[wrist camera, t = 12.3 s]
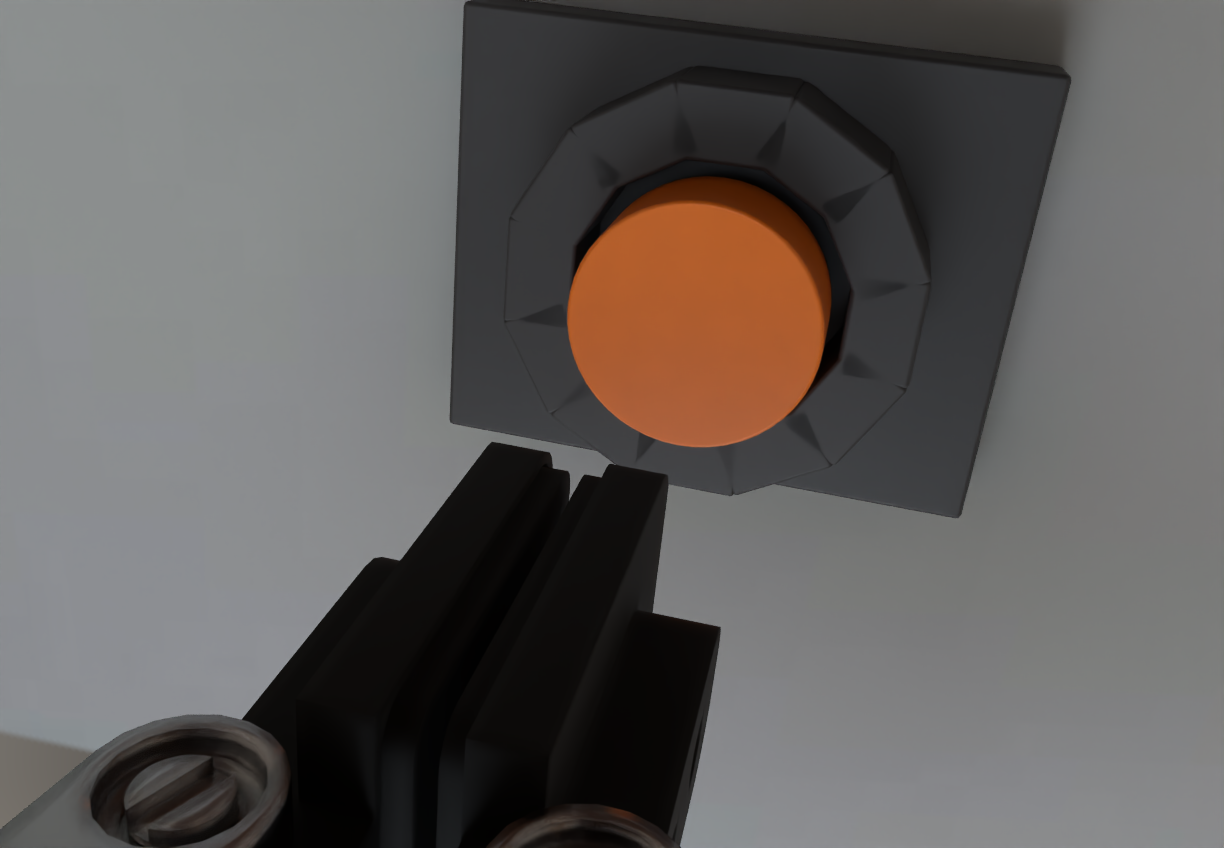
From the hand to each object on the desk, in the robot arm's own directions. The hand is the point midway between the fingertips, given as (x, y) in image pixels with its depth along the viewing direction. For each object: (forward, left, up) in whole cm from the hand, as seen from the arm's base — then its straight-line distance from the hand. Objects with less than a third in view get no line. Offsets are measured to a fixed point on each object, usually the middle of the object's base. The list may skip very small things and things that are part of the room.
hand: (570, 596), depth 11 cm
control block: (0, 0, -12) cm, 12 cm away
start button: (0, 0, -9) cm, 9 cm away
